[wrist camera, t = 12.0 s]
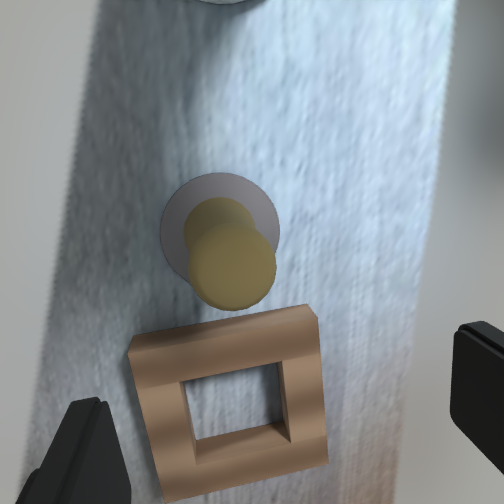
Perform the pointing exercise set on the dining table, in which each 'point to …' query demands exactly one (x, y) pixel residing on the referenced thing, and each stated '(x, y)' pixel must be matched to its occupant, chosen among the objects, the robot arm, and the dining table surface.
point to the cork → (228, 255)
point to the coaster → (206, 189)
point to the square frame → (220, 361)
